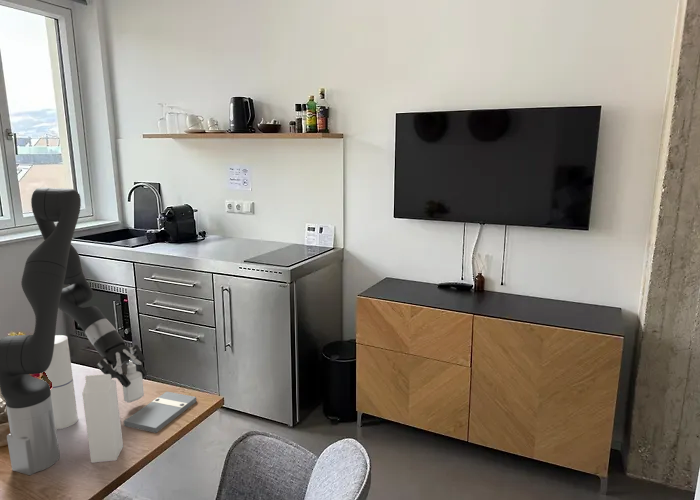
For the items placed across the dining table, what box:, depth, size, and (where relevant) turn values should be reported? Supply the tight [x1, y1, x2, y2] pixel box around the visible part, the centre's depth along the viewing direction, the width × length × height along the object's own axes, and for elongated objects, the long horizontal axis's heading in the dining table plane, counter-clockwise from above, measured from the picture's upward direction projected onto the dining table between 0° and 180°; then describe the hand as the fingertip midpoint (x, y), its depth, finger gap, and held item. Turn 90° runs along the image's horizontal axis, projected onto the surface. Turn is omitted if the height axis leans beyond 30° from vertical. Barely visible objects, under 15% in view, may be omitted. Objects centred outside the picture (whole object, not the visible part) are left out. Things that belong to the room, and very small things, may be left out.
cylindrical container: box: [45, 334, 79, 430], centre depth 138 cm, size 7×7×25 cm
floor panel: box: [123, 391, 197, 433], centre depth 145 cm, size 18×11×2 cm, turn 161°
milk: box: [82, 373, 124, 464], centre depth 123 cm, size 6×6×22 cm
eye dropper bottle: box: [122, 360, 145, 403], centre depth 148 cm, size 4×6×12 cm
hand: (136, 381), depth 147 cm, fingers closed on eye dropper bottle, 5 cm apart
